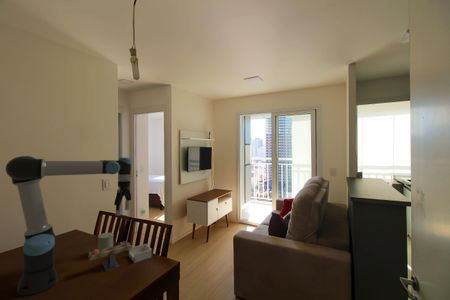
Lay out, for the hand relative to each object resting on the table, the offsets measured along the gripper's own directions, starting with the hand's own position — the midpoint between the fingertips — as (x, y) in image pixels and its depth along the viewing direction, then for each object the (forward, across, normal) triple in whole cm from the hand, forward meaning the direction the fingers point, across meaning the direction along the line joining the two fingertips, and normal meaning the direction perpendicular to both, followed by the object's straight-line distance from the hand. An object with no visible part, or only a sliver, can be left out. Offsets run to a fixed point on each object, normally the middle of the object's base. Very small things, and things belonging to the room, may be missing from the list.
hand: (122, 212), depth 141 cm
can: (+27, 0, +10) cm, 29 cm away
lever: (+20, -13, +1) cm, 24 cm away
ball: (+18, -21, +5) cm, 28 cm away
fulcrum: (+27, -16, -1) cm, 31 cm away
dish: (+26, -6, -15) cm, 31 cm away
